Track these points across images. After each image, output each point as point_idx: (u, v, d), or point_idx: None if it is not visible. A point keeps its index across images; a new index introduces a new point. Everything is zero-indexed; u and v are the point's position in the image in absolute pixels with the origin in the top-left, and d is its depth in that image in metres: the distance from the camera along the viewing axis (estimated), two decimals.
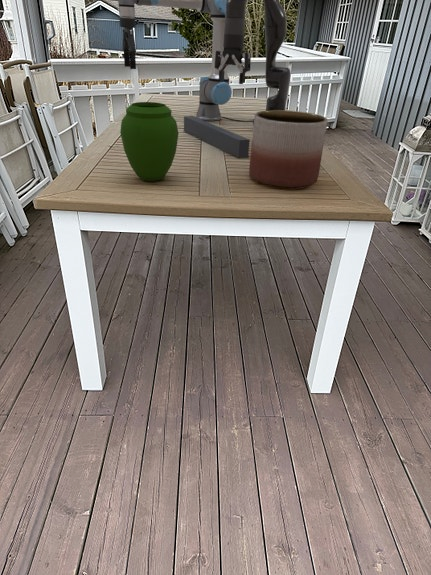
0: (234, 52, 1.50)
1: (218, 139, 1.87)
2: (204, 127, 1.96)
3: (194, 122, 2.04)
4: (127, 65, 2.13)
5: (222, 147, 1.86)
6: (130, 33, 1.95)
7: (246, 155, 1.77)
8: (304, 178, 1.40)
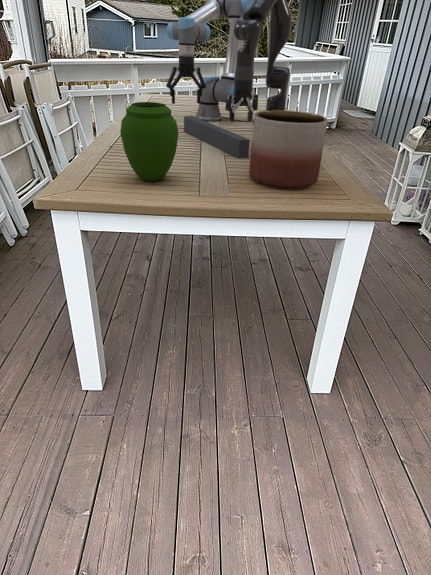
0: None
1: (218, 139, 1.87)
2: (204, 127, 1.96)
3: (194, 122, 2.04)
4: None
5: (222, 147, 1.86)
6: None
7: (246, 155, 1.77)
8: (304, 178, 1.40)
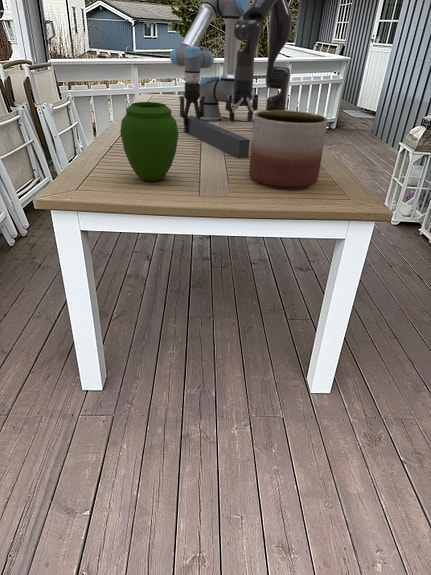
0: None
1: (218, 139, 1.87)
2: (204, 127, 1.96)
3: (194, 122, 2.04)
4: None
5: (222, 147, 1.86)
6: None
7: (246, 155, 1.77)
8: (304, 178, 1.40)
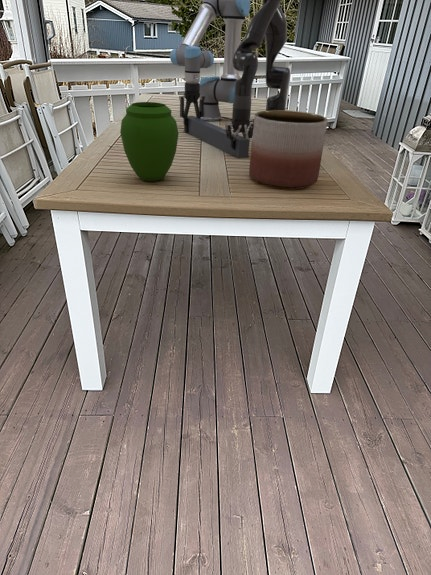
0: None
1: (218, 139, 1.87)
2: (204, 127, 1.96)
3: (194, 122, 2.04)
4: None
5: (222, 147, 1.86)
6: None
7: (246, 155, 1.77)
8: (304, 178, 1.40)
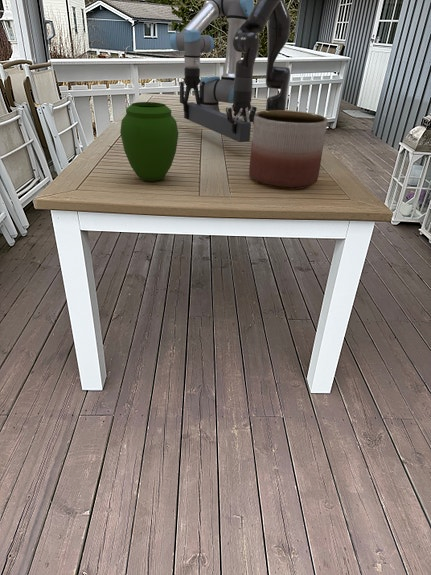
0: None
1: (219, 124, 1.84)
2: (204, 113, 1.93)
3: (194, 108, 2.01)
4: None
5: (222, 132, 1.82)
6: None
7: (247, 139, 1.74)
8: (304, 178, 1.40)
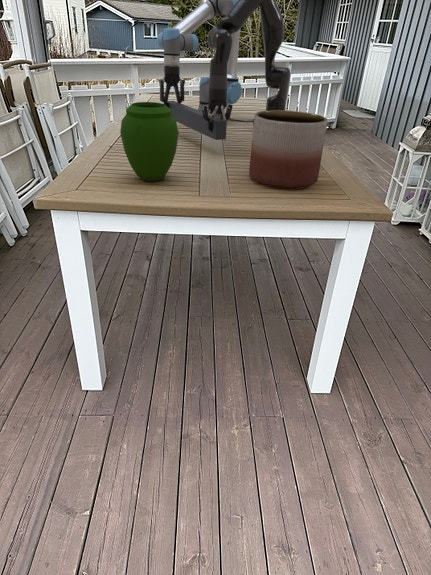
0: None
1: (197, 122, 1.83)
2: (183, 111, 1.93)
3: (174, 106, 2.01)
4: None
5: (200, 130, 1.82)
6: None
7: (224, 137, 1.73)
8: (304, 178, 1.40)
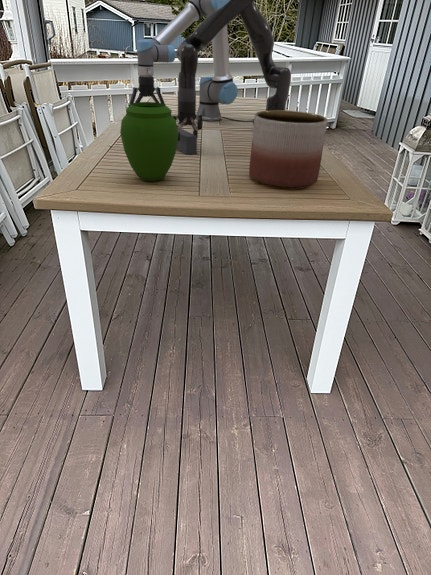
0: None
1: None
2: None
3: None
4: None
5: None
6: None
7: (194, 152, 1.78)
8: (304, 178, 1.40)
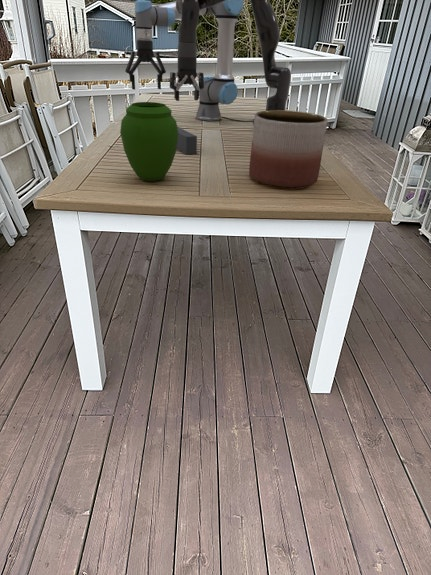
0: None
1: None
2: None
3: None
4: None
5: None
6: None
7: (194, 152, 1.78)
8: (304, 178, 1.40)
